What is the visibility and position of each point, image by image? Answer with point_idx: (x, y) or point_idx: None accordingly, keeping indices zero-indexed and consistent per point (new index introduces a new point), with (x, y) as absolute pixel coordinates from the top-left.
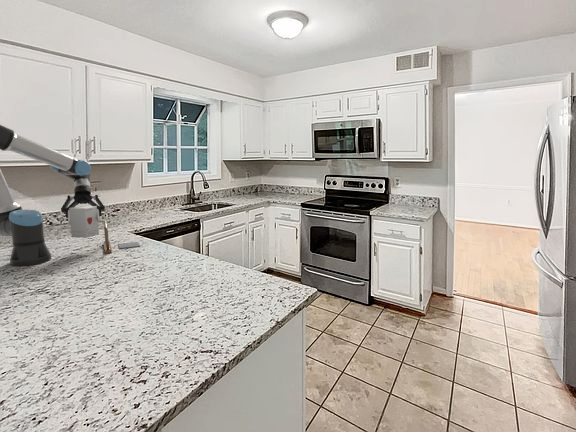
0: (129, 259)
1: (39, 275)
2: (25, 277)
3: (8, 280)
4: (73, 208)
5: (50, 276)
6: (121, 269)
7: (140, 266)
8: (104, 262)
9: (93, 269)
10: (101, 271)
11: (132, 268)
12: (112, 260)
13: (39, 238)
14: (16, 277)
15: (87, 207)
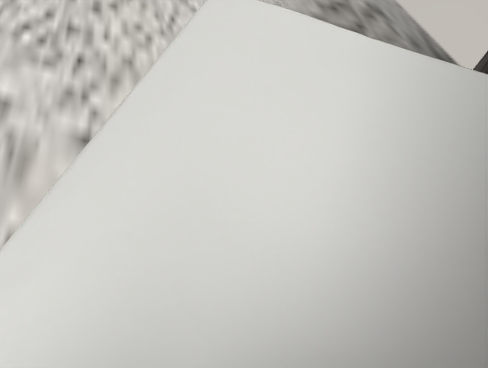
0: (30, 94)
1: (320, 16)
2: (354, 12)
3: (388, 2)
4: (485, 79)
5: (282, 2)
6: (76, 4)
7: (11, 13)
8: (132, 83)
9: (165, 24)
10: (138, 3)
11: (41, 4)
12: (100, 100)
13: (475, 70)
14: (382, 17)
15: (184, 82)
